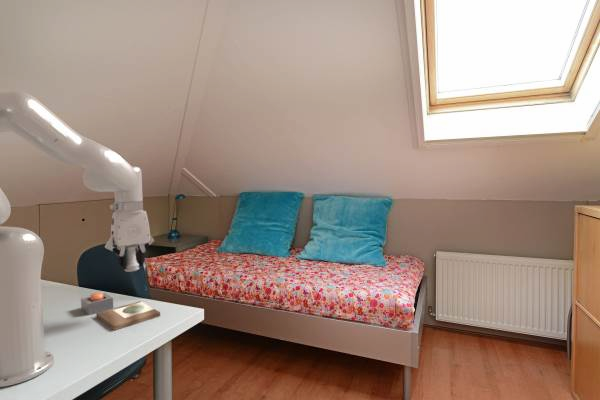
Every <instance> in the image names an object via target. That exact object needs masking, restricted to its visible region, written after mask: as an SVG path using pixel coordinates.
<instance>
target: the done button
mask: <svg viewBox="0 0 600 400" xmlns="http://www.w3.org/2000/svg"><path fill="white" fill-rule="evenodd" d="M103 293H104V292H95V293H91V294H90V296H89V297H90V301H91V302H93V301H97V300H101V299H103Z"/></svg>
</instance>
